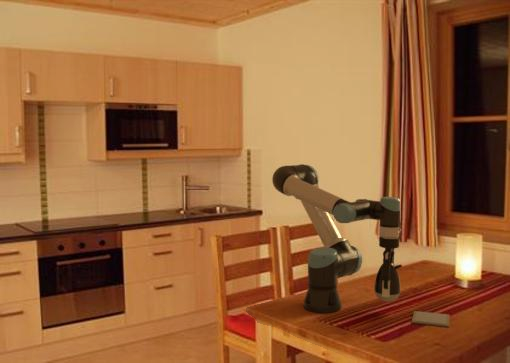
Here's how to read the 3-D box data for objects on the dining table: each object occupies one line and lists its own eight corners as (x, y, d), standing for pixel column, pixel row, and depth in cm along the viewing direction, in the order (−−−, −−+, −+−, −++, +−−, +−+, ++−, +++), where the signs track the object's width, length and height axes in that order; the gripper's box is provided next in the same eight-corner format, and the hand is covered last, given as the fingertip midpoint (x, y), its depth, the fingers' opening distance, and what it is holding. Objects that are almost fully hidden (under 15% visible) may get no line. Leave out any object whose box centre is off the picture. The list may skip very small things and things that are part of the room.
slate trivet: (411, 323, 201) (411, 321, 201) (414, 312, 213) (414, 310, 213) (448, 327, 197) (448, 325, 197) (449, 316, 209) (449, 314, 209)
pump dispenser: (401, 304, 208) (403, 265, 206) (373, 302, 210) (375, 264, 208) (400, 296, 218) (401, 259, 216) (373, 294, 220) (374, 258, 218)
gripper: (395, 243, 199) (393, 302, 201) (402, 232, 220) (400, 285, 223) (375, 241, 202) (373, 299, 204) (383, 231, 223) (381, 283, 225)
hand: (387, 292), depth 213 cm, fingers closed on pump dispenser, 10 cm apart
